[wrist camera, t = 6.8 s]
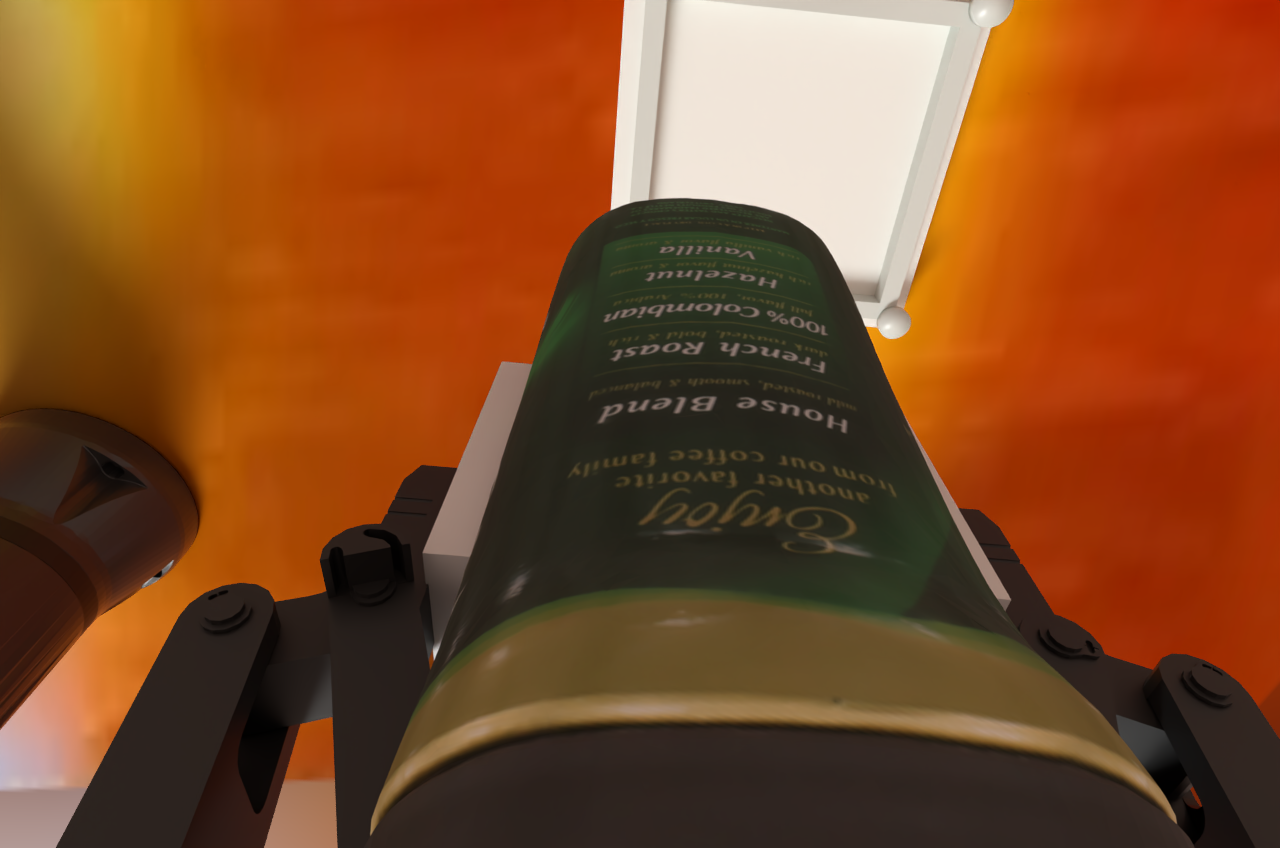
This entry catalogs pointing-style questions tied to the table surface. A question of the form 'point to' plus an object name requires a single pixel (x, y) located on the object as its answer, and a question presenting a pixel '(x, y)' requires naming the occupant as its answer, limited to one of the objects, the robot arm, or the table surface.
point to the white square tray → (805, 119)
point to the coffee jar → (736, 592)
